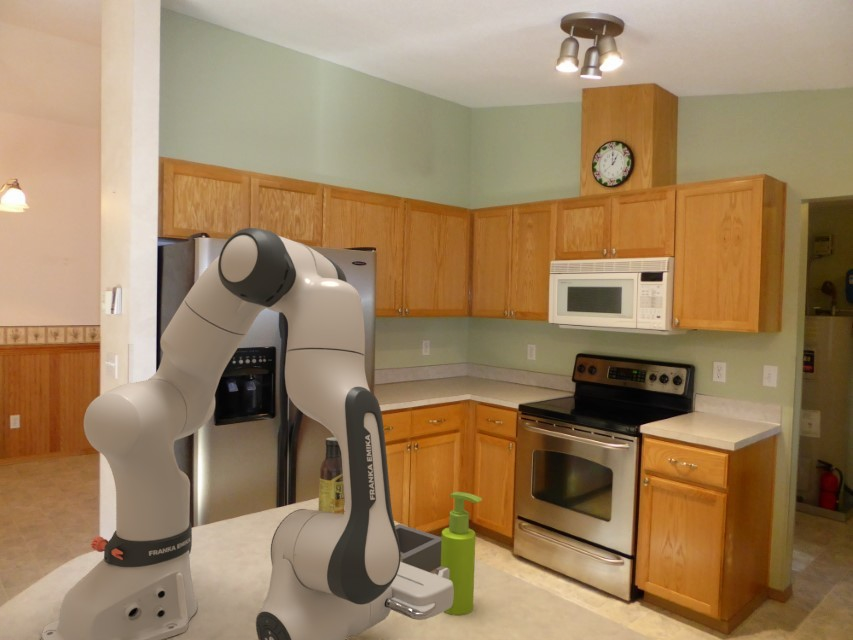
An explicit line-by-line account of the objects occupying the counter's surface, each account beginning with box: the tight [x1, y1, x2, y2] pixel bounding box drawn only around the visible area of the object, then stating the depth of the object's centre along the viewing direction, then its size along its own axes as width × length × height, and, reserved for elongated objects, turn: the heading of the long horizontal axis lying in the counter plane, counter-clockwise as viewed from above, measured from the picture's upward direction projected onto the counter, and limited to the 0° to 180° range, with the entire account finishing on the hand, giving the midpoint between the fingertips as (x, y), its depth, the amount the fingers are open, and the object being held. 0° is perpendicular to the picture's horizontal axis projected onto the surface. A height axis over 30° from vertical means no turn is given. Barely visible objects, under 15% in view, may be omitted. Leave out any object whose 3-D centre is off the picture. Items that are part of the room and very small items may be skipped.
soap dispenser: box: [441, 491, 483, 616], centre depth 105 cm, size 6×7×20 cm
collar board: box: [395, 523, 442, 574], centre depth 118 cm, size 18×18×6 cm
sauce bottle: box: [317, 436, 345, 514], centre depth 146 cm, size 7×6×20 cm
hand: (422, 563), depth 97 cm, fingers open, 8 cm apart
